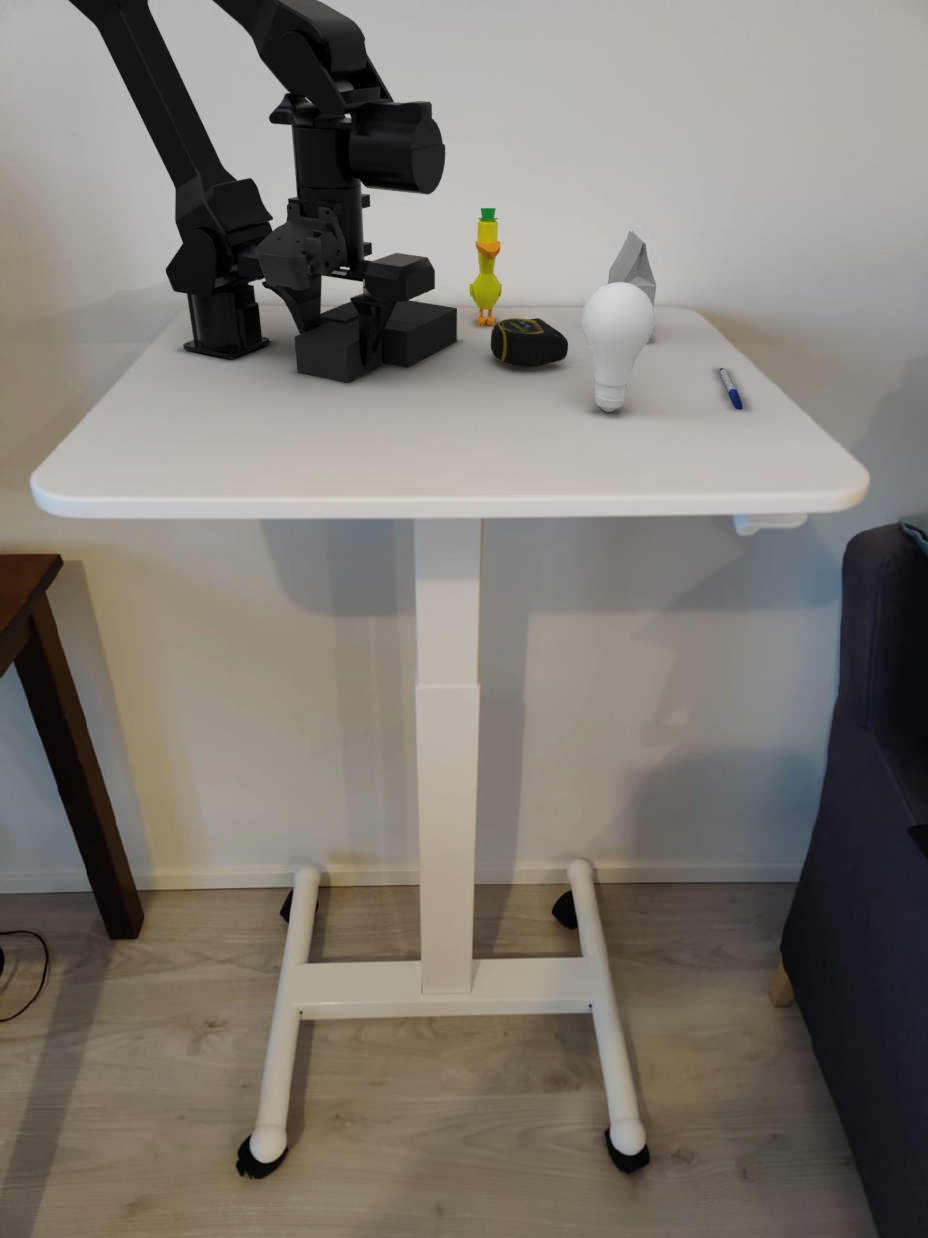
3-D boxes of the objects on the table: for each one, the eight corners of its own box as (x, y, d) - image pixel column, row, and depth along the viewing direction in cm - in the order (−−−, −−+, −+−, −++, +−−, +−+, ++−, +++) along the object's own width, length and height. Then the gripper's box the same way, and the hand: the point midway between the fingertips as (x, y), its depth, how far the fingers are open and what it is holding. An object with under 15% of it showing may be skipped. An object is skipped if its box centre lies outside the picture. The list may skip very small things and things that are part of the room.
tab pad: (297, 372, 89) (293, 336, 88) (344, 350, 95) (342, 316, 93) (348, 383, 87) (346, 346, 85) (393, 359, 93) (392, 325, 91)
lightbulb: (648, 404, 84) (664, 278, 77) (636, 427, 79) (652, 295, 73) (582, 395, 85) (593, 271, 79) (566, 418, 80) (576, 288, 74)
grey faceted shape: (615, 342, 99) (625, 243, 93) (603, 324, 104) (613, 230, 99) (649, 342, 99) (661, 243, 93) (636, 324, 105) (647, 230, 99)
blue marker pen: (745, 412, 83) (747, 401, 82) (735, 411, 83) (737, 400, 82) (723, 373, 92) (725, 363, 91) (714, 372, 92) (716, 362, 91)
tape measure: (569, 370, 91) (572, 332, 89) (503, 376, 89) (505, 337, 87) (543, 349, 96) (545, 313, 94) (481, 355, 95) (482, 318, 93)
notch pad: (317, 349, 95) (314, 315, 93) (370, 325, 103) (369, 293, 101) (408, 367, 91) (407, 331, 89) (456, 341, 98) (457, 307, 96)
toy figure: (505, 331, 101) (509, 214, 95) (473, 332, 101) (474, 214, 94) (497, 315, 107) (501, 203, 100) (467, 315, 107) (468, 203, 100)
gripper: (184, 186, 79) (209, 366, 88) (366, 208, 72) (374, 401, 80) (266, 170, 87) (282, 336, 96) (437, 188, 80) (438, 366, 89)
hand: (339, 358), depth 90 cm, fingers closed on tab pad, 6 cm apart
